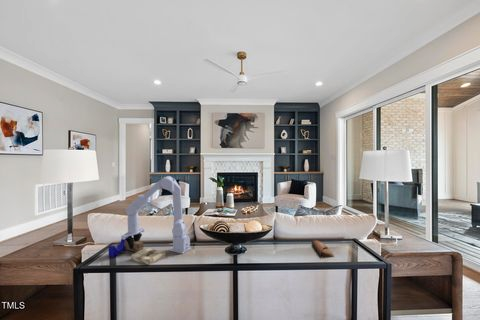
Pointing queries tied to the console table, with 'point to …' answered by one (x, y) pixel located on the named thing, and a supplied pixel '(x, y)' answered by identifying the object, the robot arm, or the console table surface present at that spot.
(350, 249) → the console table surface
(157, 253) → the cutout board
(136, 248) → the walnut bar
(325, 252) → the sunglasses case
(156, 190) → the robot arm
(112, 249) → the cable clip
